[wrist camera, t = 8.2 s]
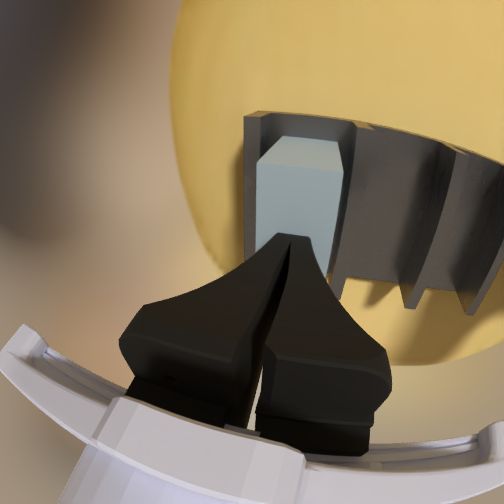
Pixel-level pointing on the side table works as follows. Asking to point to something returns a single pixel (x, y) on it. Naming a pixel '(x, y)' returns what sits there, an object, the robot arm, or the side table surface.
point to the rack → (397, 206)
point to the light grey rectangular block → (299, 193)
